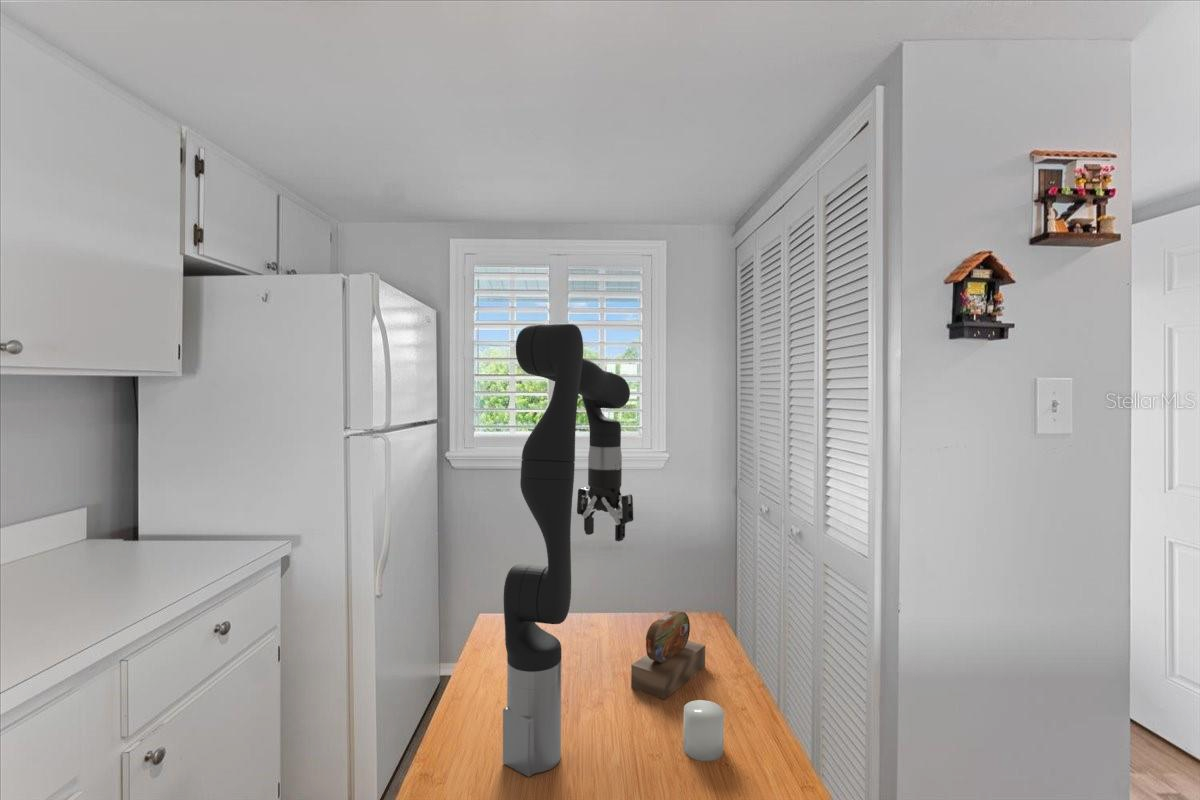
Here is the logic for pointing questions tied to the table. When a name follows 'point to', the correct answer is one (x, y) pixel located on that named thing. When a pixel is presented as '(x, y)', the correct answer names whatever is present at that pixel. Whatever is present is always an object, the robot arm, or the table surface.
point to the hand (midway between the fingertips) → (604, 537)
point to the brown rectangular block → (667, 671)
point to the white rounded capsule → (703, 730)
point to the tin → (667, 636)
